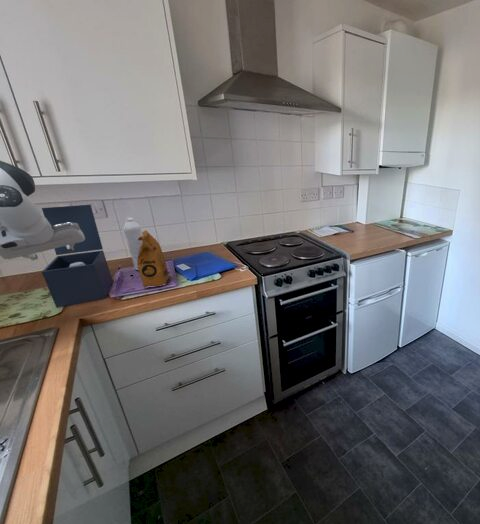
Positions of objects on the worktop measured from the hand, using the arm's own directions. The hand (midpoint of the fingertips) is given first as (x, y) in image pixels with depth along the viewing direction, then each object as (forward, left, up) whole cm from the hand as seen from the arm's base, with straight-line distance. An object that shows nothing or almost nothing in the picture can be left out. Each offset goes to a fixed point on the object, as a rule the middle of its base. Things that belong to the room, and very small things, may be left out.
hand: (53, 253), depth 102 cm
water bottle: (+20, +30, -21) cm, 41 cm away
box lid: (+2, +22, +3) cm, 22 cm away
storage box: (+2, +12, -21) cm, 24 cm away
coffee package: (+26, +10, -21) cm, 35 cm away
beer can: (+2, +12, -20) cm, 24 cm away
